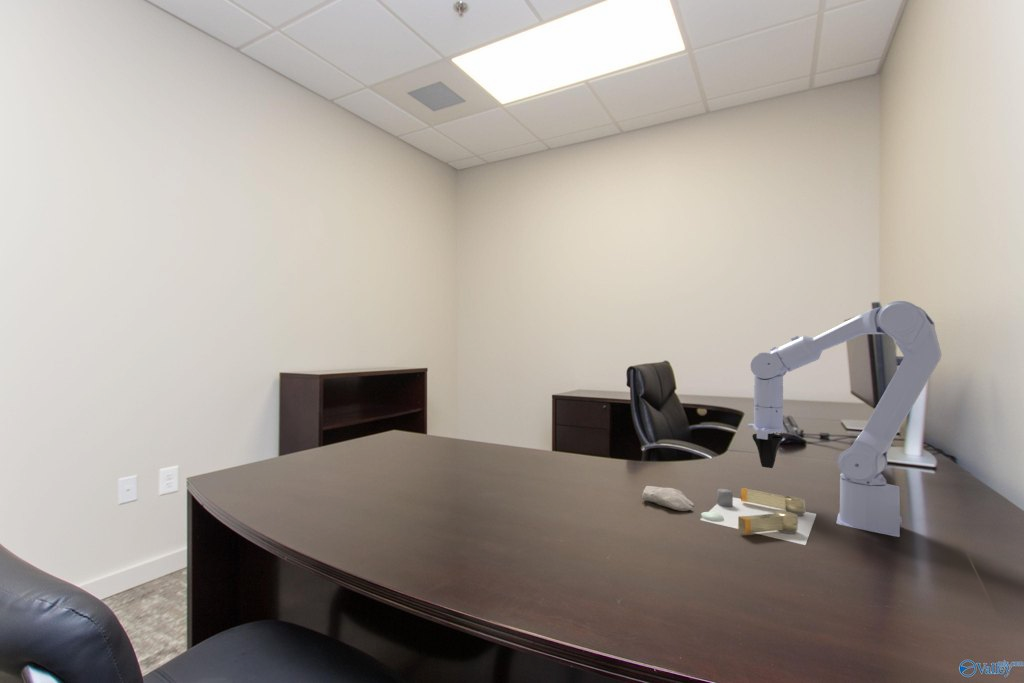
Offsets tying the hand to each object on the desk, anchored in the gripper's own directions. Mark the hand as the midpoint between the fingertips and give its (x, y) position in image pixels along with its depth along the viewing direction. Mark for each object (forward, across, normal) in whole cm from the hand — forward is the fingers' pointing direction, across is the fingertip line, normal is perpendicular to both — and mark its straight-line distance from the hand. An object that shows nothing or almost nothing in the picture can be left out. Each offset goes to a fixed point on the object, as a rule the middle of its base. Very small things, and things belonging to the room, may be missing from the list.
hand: (767, 467), depth 103 cm
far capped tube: (+7, +6, +2) cm, 9 cm away
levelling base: (+8, +13, +1) cm, 15 cm away
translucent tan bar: (+7, +21, +4) cm, 23 cm away
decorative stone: (+8, +16, -17) cm, 25 cm away
